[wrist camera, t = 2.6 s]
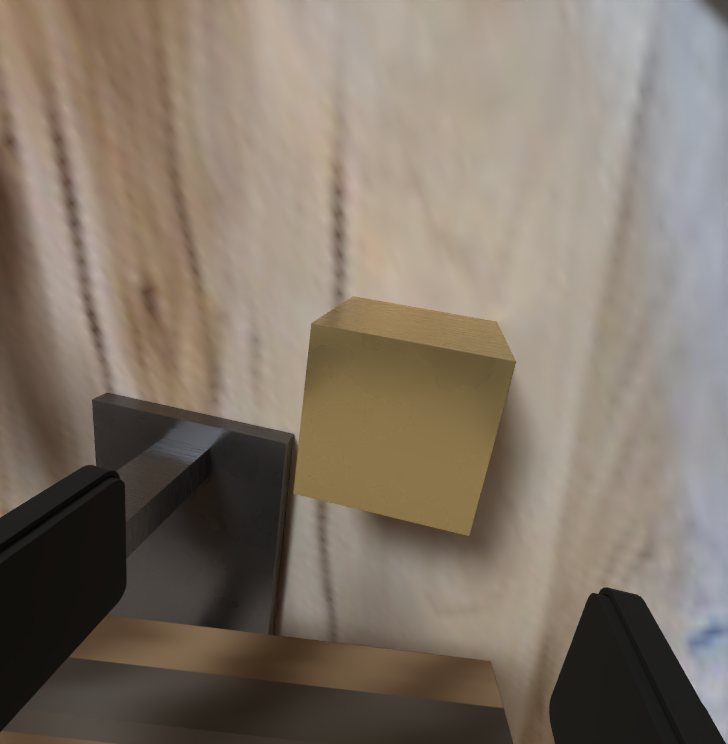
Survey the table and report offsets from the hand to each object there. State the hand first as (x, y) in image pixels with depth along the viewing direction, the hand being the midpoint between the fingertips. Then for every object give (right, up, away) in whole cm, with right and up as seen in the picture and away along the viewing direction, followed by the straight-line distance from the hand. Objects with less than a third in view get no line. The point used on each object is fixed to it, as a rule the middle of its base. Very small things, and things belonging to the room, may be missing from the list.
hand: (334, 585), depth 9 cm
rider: (+3, +4, +11) cm, 12 cm away
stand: (-9, -7, +16) cm, 20 cm away
